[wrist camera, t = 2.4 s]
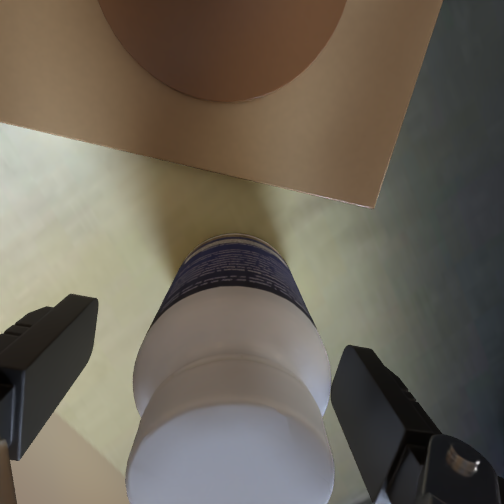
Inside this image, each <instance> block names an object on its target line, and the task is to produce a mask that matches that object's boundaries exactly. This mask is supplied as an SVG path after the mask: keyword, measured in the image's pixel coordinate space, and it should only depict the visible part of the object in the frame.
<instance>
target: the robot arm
mask: <svg viewBox="0 0 504 504" xmlns="http://www.w3.org/2000/svg"><path fill="white" fill-rule="evenodd" d="M97 314H98V299H97V298H92V297H87V296H81V295H76V294H69V295H68V296H67V297H66V298H64V299H63V300H62V301H61V302H60V303H58V304H57V305H56V306H55V307H54V308H53V307H47V306H46V307H44V308H41V309H38V310H36V311H33V312H30V313H28V314H27V315H25V316H24V317H23V318H21V319H20V320H19V321H17V322H16V323H15V325H12V326H11V327H10V328H8V329H7V330H6V331H5V332H4V334H0V504H17V501H16V495H15V488H14V482H13V476H12V470H11V464H10V460H16V461H19V460H20V459H21V458H22V456H23V455H24V453H25V452H26V450H27V449H28V447H29V446H30V445H31V443H32V442H33V440H34V439H35V438H36V436H37V435H38V433H39V432H40V430H41V429H42V427H43V426H44V425H45V423H46V422H47V420H48V419H49V418H50V416H51V415H52V413H53V412H54V410H55V409H56V408H57V406H58V405H59V403H60V402H61V400H62V399H63V397H64V396H65V395H66V393H67V392H68V390H69V389H70V387H71V386H72V385H73V383H74V382H75V380H76V379H77V377H78V376H79V375H80V373H81V372H82V370H83V369H84V367H85V366H86V364H87V363H88V361H89V358H90V356H91V353H92V350H93V345H94V338H95V330H96V322H97ZM331 402H332V406H333V408H334V410H335V413H336V415H337V418H338V420H339V423H340V425H341V427H342V430H343V432H344V435H345V437H346V440H347V442H348V444H349V447H350V449H351V452H352V454H353V456H354V459H355V461H356V464H357V466H358V469H359V471H360V473H361V476H362V478H363V481H364V483H365V486H366V488H367V490H368V493H369V495H370V498H371V500H372V503H373V504H504V479H503V478H501V477H498V476H497V474H496V472H495V470H494V469H493V467H492V466H491V465H490V463H489V462H488V461H487V460H486V459H485V458H484V457H483V456H482V455H481V454H480V453H479V452H477V451H476V450H475V449H474V448H472V447H471V446H469V445H468V444H466V443H464V442H463V441H461V440H459V439H457V438H454V437H452V436H448V435H444V434H442V433H441V432H440V430H439V429H438V428H437V427H436V425H435V424H434V423H433V421H432V420H431V419H430V417H429V416H428V415H427V413H426V412H425V411H424V410H423V408H422V407H421V406H420V404H419V403H418V402H416V399H415V398H414V397H413V395H412V394H411V393H410V392H408V389H407V387H406V386H405V385H404V384H403V382H402V381H401V380H400V378H399V377H398V376H396V375H395V374H394V373H393V372H391V371H390V370H389V369H388V368H387V367H385V366H384V365H383V363H382V362H381V361H380V359H379V358H378V357H377V355H376V354H375V353H374V351H373V350H372V349H369V348H364V347H358V346H353V345H348V346H346V348H345V349H344V351H343V354H342V357H341V360H340V362H339V365H338V368H337V371H336V374H335V377H334V380H333V383H332V386H331Z"/></svg>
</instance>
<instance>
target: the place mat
mask: <svg viewBox="0 0 504 504" xmlns="http://www.w3.org/2000/svg"><path fill="white" fill-rule="evenodd" d="M442 2H443V0H0V122H2V123H6V124H11V125H15V126H19V127H23V128H28V129H32V130H36V131H40V132H45V133H49V134H53V135H58V136H62V137H66V138H70V139H75V140H79V141H83V142H88V143H92V144H96V145H100V146H105V147H109V148H113V149H117V150H122V151H126V152H130V153H135V154H139V155H143V156H147V157H152V158H156V159H160V160H164V161H169V162H173V163H177V164H182V165H186V166H190V167H194V168H199V169H203V170H207V171H212V172H216V173H220V174H224V175H229V176H233V177H237V178H241V179H246V180H250V181H254V182H259V183H263V184H267V185H271V186H276V187H280V188H284V189H289V190H293V191H297V192H301V193H306V194H310V195H314V196H318V197H323V198H327V199H331V200H336V201H340V202H344V203H348V204H353V205H357V206H361V207H366V208H370V209H374V207H375V204H376V201H377V198H378V195H379V192H380V189H381V186H382V183H383V180H384V177H385V174H386V171H387V168H388V165H389V162H390V159H391V156H392V153H393V150H394V147H395V144H396V141H397V138H398V135H399V132H400V129H401V126H402V123H403V120H404V117H405V114H406V111H407V108H408V105H409V102H410V99H411V96H412V93H413V90H414V87H415V84H416V81H417V78H418V75H419V71H420V68H421V65H422V62H423V59H424V56H425V53H426V50H427V47H428V44H429V41H430V38H431V35H432V32H433V29H434V26H435V23H436V20H437V17H438V14H439V11H440V8H441V5H442Z"/></svg>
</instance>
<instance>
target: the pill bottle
mask: <svg viewBox="0 0 504 504" xmlns="http://www.w3.org/2000/svg"><path fill="white" fill-rule="evenodd" d="M330 390H331V370H330V363H329V359H328V355H327V352H326V349H325V347H324V344H323V342H322V340H321V337H320V335H319V333H318V330H317V328H316V326H315V324H314V322H313V320H312V318H311V316H310V314H309V312H308V309H307V307H306V305H305V303H304V301H303V298H302V296H301V294H300V292H299V289H298V287H297V285H296V283H295V281H294V278H293V276H292V274H291V272H290V270H289V267H288V265H287V264H286V262H285V261H284V259H283V258H282V256H281V255H280V254H279V253H278V252H277V250H276V249H274V248H273V247H272V246H271V245H269V244H268V243H267V242H265V241H263V240H261V239H259V238H257V237H254V236H251V235H246V234H240V233H231V234H223V235H218V236H215V237H213V238H210V239H208V240H206V241H204V242H203V243H201V244H200V245H198V246H197V247H196V248H195V249H194V250H192V251H191V253H190V254H189V255H188V256H187V257H186V259H185V260H184V262H183V263H182V265H181V266H180V268H179V270H178V272H177V274H176V276H175V278H174V280H173V282H172V284H171V286H170V288H169V290H168V292H167V294H166V296H165V298H164V300H163V302H162V304H161V306H160V308H159V310H158V312H157V314H156V316H155V318H154V320H153V322H152V324H151V326H150V328H149V330H148V332H147V334H146V336H145V338H144V340H143V342H142V345H141V347H140V349H139V352H138V355H137V358H136V361H135V366H134V372H133V392H134V399H135V403H136V407H137V410H138V412H139V414H140V416H141V420H140V424H139V428H138V431H137V434H136V437H135V440H134V443H133V446H132V449H131V452H130V455H129V458H128V462H127V468H126V479H125V482H126V488H127V496H128V499H129V501H130V504H327V503H328V501H329V498H330V496H331V493H332V489H333V485H334V476H335V470H334V460H333V456H332V452H331V448H330V445H329V442H328V438H327V434H326V431H325V427H324V422H323V418H322V417H323V415H324V413H325V410H326V407H327V404H328V401H329V396H330Z"/></svg>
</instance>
